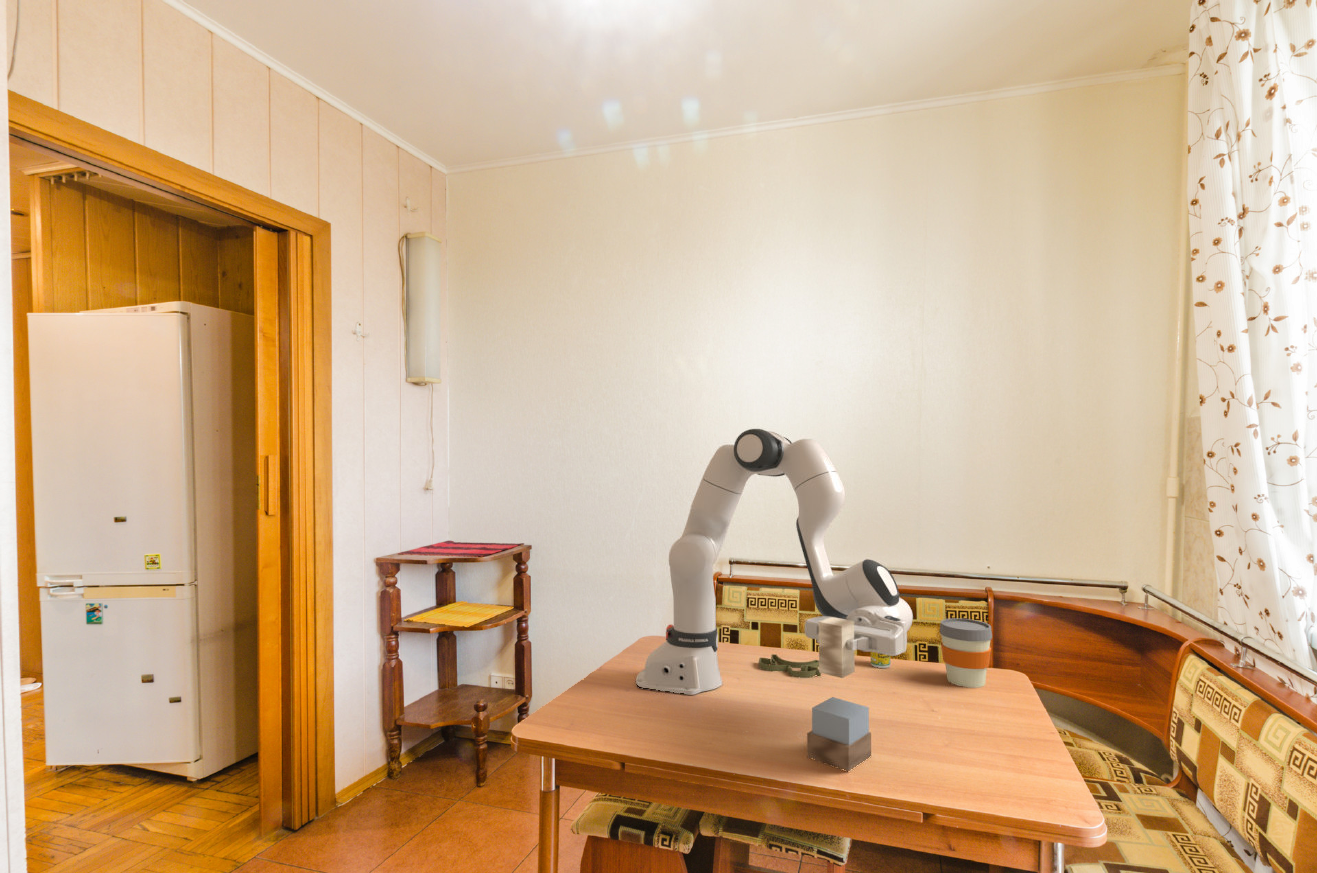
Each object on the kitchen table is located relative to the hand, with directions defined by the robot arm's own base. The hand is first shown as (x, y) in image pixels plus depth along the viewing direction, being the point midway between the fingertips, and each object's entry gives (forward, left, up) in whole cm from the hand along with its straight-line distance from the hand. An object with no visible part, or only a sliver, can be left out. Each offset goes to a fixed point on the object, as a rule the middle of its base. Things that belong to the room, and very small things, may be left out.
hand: (834, 642), depth 133 cm
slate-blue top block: (+1, +1, -18) cm, 18 cm away
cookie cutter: (-7, +54, -23) cm, 59 cm away
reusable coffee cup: (+38, +51, -23) cm, 67 cm away
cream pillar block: (+1, +1, -6) cm, 6 cm away
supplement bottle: (+18, +61, -23) cm, 67 cm away
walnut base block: (+1, +1, -23) cm, 23 cm away
